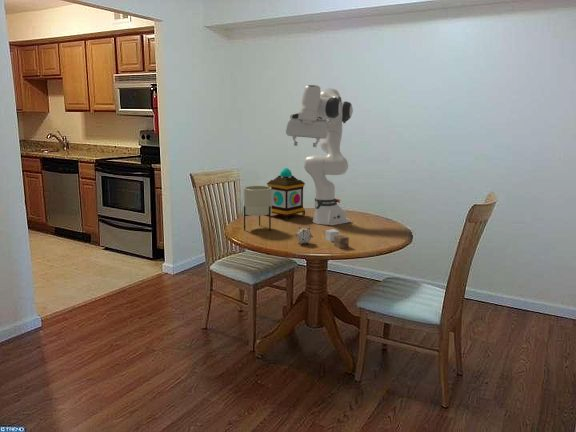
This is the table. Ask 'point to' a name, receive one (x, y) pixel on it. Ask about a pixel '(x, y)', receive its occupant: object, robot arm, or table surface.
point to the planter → (258, 202)
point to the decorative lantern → (287, 194)
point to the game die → (304, 235)
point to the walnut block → (341, 241)
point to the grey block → (331, 234)
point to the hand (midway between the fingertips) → (305, 146)
